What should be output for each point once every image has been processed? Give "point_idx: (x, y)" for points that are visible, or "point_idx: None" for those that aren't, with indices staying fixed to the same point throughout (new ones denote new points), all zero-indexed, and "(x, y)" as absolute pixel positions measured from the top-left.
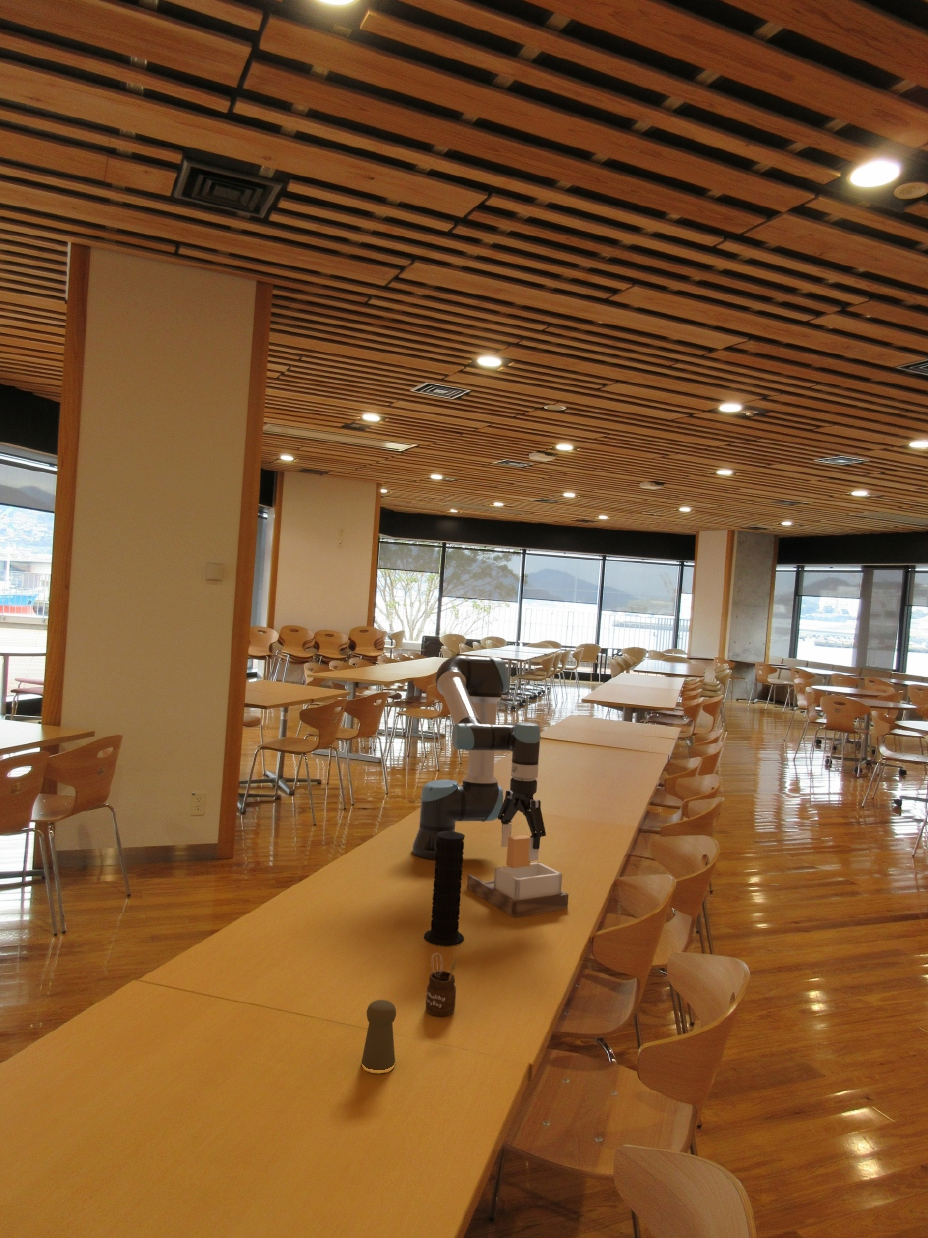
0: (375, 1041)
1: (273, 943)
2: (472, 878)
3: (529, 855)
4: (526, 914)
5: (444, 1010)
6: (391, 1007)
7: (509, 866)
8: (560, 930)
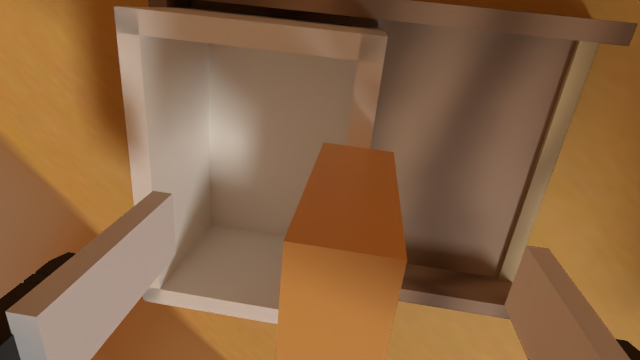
0: None
1: None
2: (575, 18)
3: (145, 210)
4: None
5: None
6: None
7: (356, 147)
8: (25, 68)
